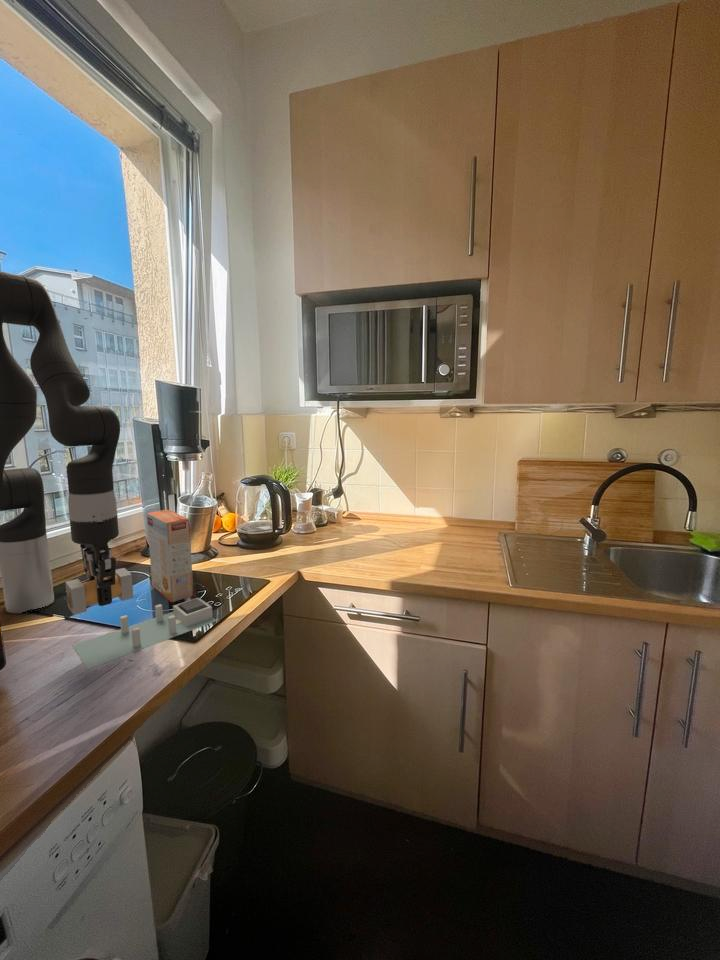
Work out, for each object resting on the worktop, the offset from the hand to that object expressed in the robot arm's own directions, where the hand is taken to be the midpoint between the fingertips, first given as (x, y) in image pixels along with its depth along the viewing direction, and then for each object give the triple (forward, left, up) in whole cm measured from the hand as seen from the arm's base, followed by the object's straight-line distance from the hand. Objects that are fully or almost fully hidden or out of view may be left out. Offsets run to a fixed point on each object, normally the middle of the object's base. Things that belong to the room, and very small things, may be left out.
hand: (101, 599), depth 80 cm
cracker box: (-17, +20, -11) cm, 28 cm away
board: (0, +8, -11) cm, 13 cm away
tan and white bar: (0, 0, -1) cm, 1 cm away
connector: (0, +17, -10) cm, 20 cm away
